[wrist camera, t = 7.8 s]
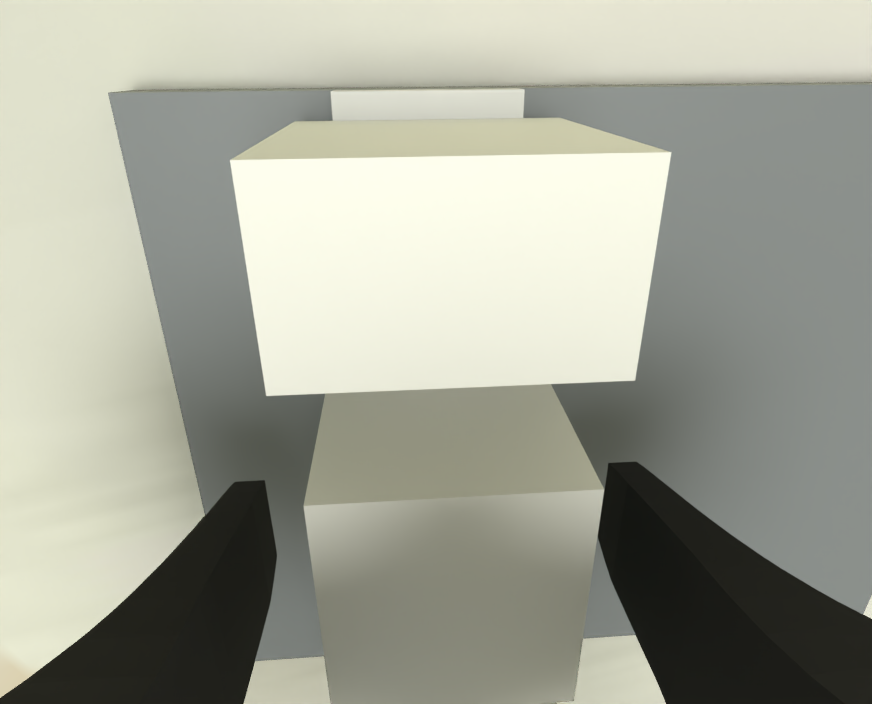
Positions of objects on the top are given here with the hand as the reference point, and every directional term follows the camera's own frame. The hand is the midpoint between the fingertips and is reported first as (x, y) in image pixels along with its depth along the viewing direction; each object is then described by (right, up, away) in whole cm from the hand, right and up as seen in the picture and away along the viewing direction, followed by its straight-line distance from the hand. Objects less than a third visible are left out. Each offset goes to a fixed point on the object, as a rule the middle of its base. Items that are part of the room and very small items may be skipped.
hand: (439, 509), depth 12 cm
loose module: (0, +1, +2) cm, 2 cm away
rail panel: (+4, +2, +4) cm, 6 cm away
